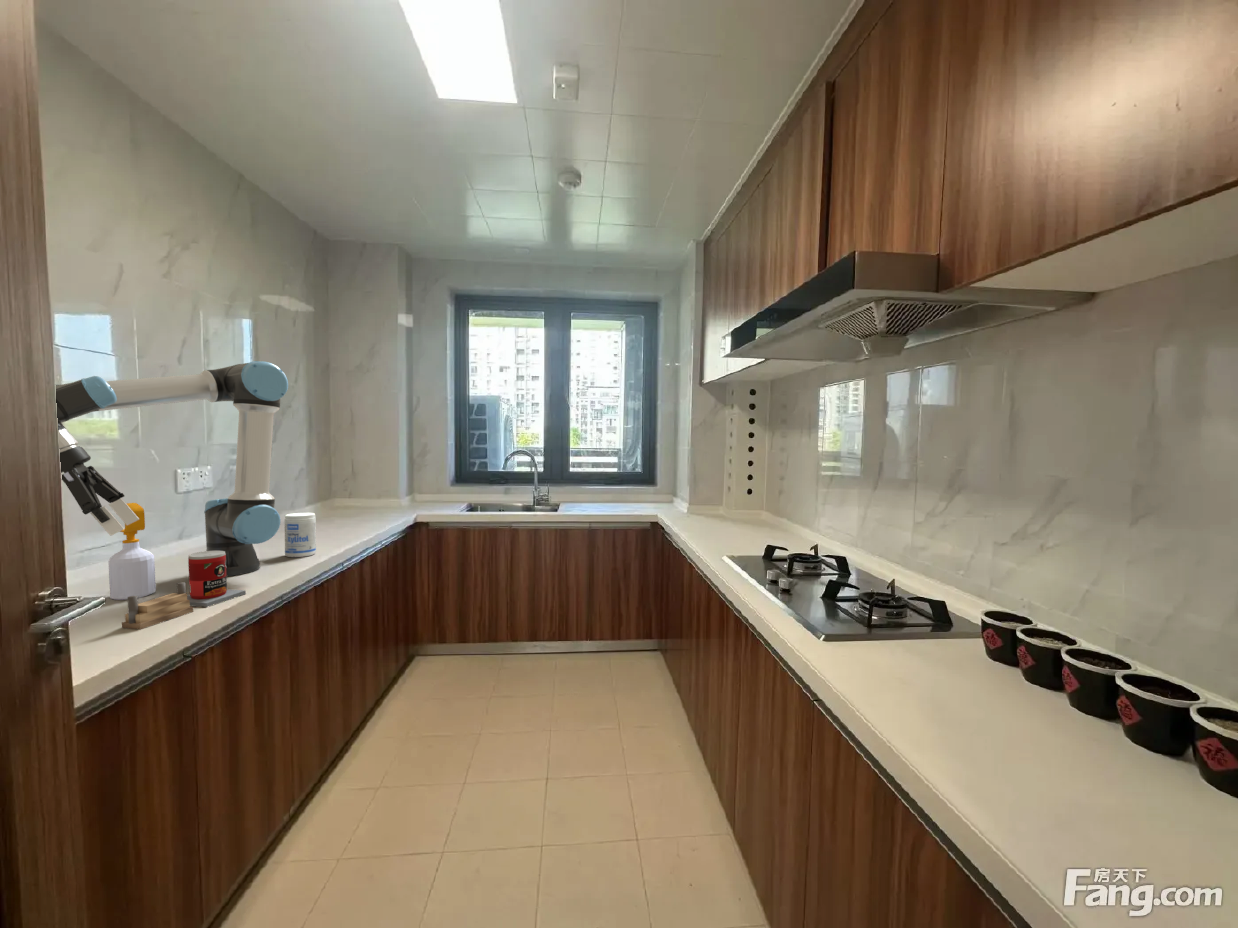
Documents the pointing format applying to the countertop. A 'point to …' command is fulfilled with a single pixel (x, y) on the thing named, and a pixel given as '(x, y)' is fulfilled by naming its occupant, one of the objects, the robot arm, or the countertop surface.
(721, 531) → the countertop surface
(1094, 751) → the countertop surface
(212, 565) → the canned food
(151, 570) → the soap bottle
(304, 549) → the supplement tub
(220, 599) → the slate mat
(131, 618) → the offcut rack
